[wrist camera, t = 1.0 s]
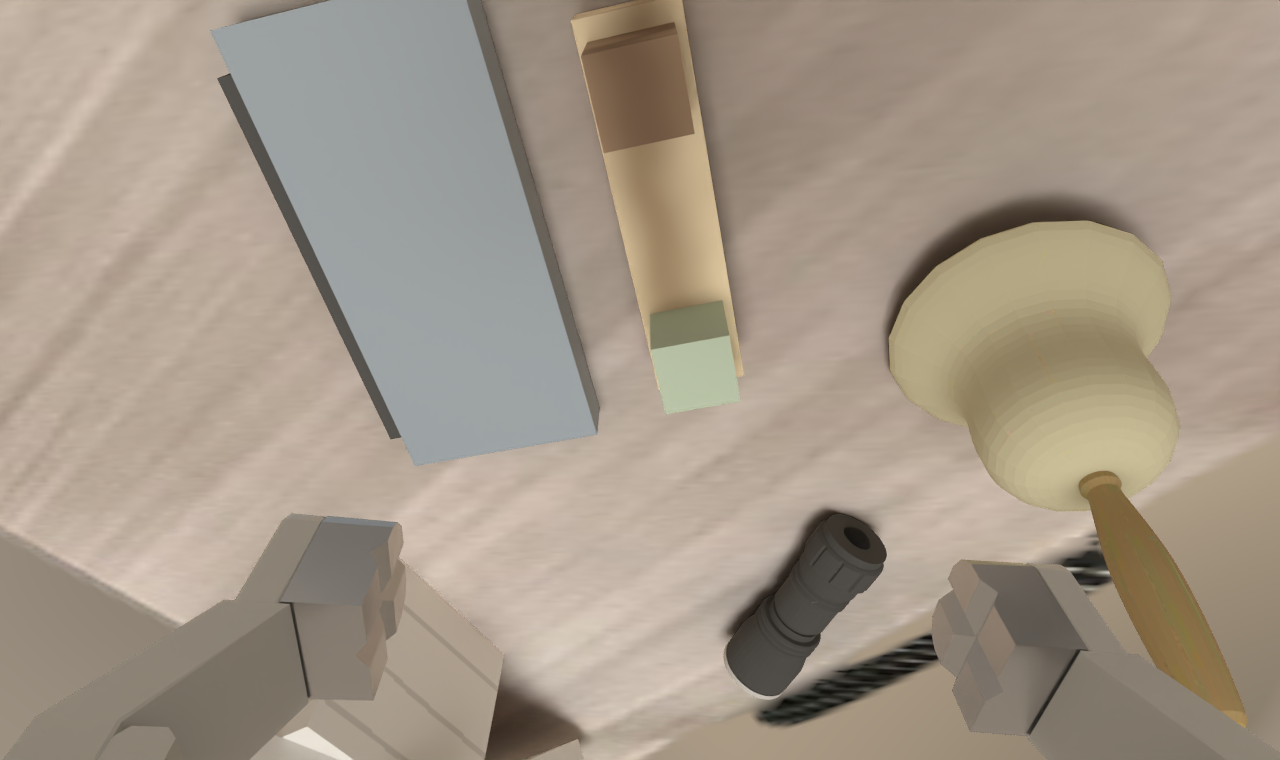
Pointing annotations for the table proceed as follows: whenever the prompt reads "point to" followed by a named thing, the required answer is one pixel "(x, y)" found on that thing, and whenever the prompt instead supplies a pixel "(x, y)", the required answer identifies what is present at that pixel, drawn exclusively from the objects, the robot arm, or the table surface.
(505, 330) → the dock
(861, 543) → the flashlight
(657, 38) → the block
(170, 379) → the table surface
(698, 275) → the pallet
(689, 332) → the block
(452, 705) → the pizza boxes
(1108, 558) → the handbell
